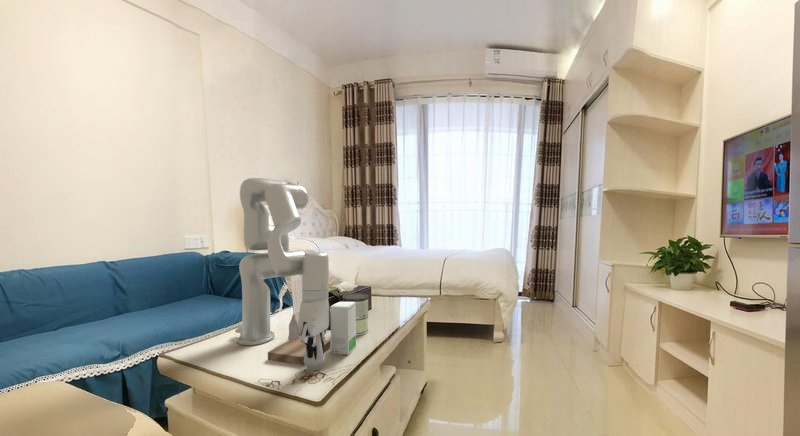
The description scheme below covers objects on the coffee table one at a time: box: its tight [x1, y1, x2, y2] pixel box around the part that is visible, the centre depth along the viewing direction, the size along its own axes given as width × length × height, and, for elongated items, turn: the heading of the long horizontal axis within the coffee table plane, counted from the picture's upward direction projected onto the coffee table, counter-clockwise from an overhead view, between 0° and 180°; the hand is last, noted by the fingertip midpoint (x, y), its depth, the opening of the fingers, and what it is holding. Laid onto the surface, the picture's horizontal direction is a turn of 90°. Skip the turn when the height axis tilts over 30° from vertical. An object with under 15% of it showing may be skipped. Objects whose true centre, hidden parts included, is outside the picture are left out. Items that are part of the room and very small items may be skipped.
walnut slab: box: [267, 337, 331, 367], centre depth 103 cm, size 14×14×2 cm
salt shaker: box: [304, 333, 325, 372], centre depth 93 cm, size 6×6×13 cm
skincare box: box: [329, 301, 357, 356], centre depth 106 cm, size 8×7×16 cm
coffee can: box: [341, 292, 369, 337], centre depth 125 cm, size 10×10×14 cm
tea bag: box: [288, 311, 301, 341], centre depth 117 cm, size 4×7×10 cm, turn 160°
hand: (315, 356), depth 92 cm, fingers closed on salt shaker, 3 cm apart
